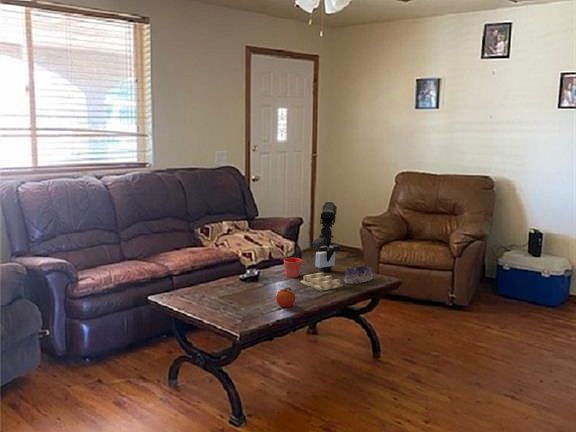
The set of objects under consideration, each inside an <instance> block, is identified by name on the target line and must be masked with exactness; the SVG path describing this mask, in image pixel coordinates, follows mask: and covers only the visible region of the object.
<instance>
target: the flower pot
mask: <svg viewBox="0 0 576 432" xmlns="http://www.w3.org/2000/svg"><path fill="white" fill-rule="evenodd" d="M302 262H303V260H302V258H298V257H286V258H284V259H283V264H284V265H283V266H284V272H285V276H286V277H288V278H298V277H299V275H300V273H301V267H302V264H303V263H302Z"/></svg>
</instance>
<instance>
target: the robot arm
mask: <svg viewBox="0 0 576 432" xmlns="http://www.w3.org/2000/svg"><path fill="white" fill-rule="evenodd" d="M337 212H338V207H337V205H335V202H333V201H331V202H330V201H325V203H324V204H323V205H322V212H321V213H320V221H319V225H321V230H320V235H319V237H318V238H316V239H315V240H313V241H312V242H311V246H312V247H314V248H315V249H317V250H318V252H323V251H326V252H327V262H329V260H330V258H331V257H332V255H333V253H334V252H335V253H336V252H340V251H342V250H341V248H342V247H341V246H340V245H337V244H334V243H333V242H332V239H333V238H334V235H333V226H335V224H336V219H337ZM319 271H320V272H322V273H330V272H332V273H333V272H334V271H335V270H333V266H329V267H322V268H320V269H319Z"/></svg>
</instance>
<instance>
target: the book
mask: <svg viewBox="0 0 576 432" xmlns="http://www.w3.org/2000/svg"><path fill="white" fill-rule="evenodd" d="M314 260H315V261H314V263H315V264H314V266H315V268H316V267H317V268H320V269H321V268H322V267H329V266H332V267H334V266H335V265H336V251H335V252H334V253H333V255H332V257H331V258H330V260H329V262H327V252H326V251H323V252H319V251H316V253H315V259H314Z"/></svg>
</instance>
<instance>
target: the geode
mask: <svg viewBox="0 0 576 432" xmlns="http://www.w3.org/2000/svg"><path fill="white" fill-rule="evenodd" d="M373 276H374V274H373V272H372V267H371V266H369V265H358V266H355V267H352V268H349V267H347V268H346V273H345V276H344V280H343V282H345V283H344V284H346V285H357V284H361V283H366V282H369V281H371V280H373Z"/></svg>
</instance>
